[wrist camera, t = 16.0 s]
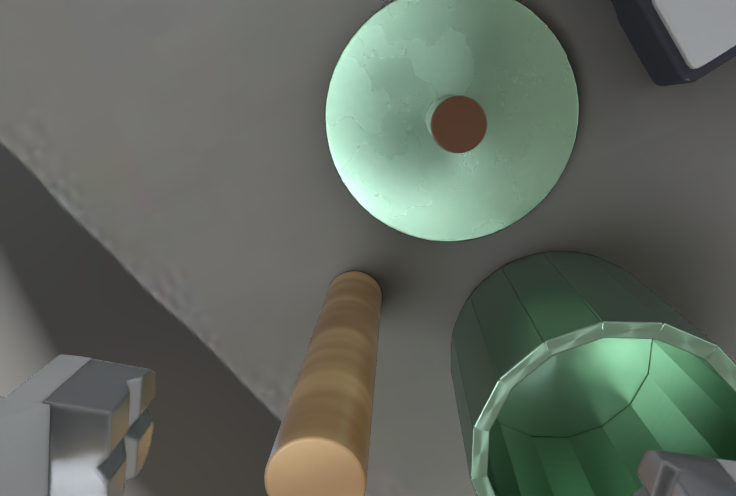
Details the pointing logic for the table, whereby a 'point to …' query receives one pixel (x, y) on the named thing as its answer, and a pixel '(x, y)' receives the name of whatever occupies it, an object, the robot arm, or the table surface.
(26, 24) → the table surface
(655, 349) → the tin
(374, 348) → the stick
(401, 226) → the tin lid
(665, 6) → the calculator
